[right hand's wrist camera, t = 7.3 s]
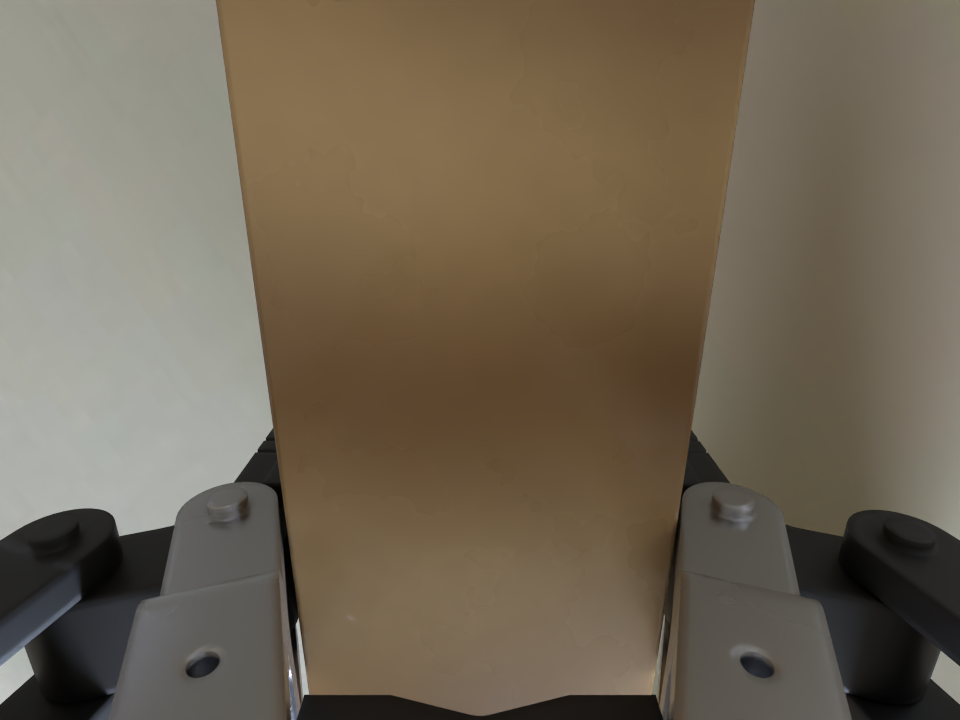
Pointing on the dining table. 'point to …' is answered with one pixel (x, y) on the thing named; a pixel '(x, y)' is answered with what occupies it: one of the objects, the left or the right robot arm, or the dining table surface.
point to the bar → (483, 324)
